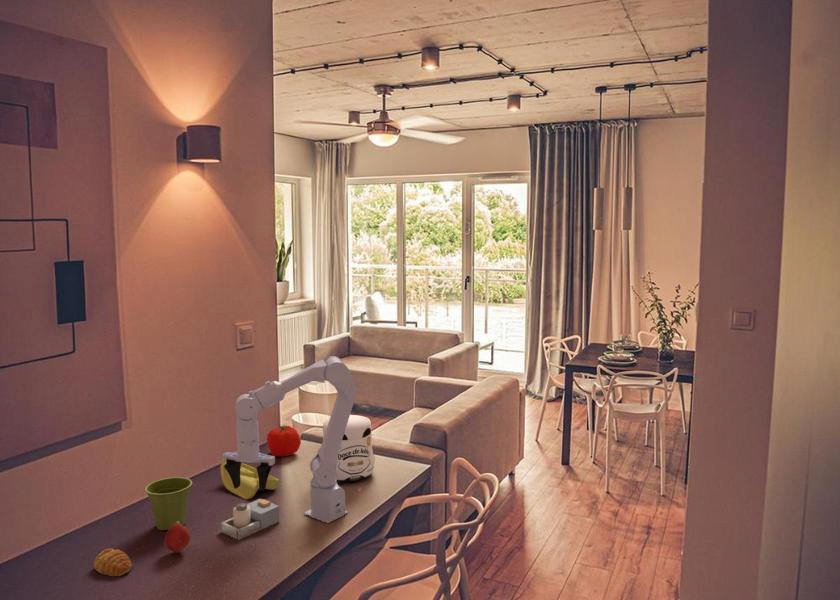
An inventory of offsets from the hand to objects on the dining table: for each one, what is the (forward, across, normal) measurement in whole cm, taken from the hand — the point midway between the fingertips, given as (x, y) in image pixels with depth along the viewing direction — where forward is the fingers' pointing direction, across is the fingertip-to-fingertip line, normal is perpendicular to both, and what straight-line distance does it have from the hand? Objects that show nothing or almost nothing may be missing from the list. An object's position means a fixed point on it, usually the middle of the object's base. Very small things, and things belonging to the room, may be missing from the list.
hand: (249, 488), depth 171 cm
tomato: (+10, +15, -50) cm, 54 cm away
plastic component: (+10, +13, -22) cm, 28 cm away
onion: (+10, +10, +19) cm, 23 cm away
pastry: (+10, +20, +28) cm, 36 cm away
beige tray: (+10, 0, +5) cm, 11 cm away
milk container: (+10, -14, -38) cm, 41 cm away
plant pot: (+10, +21, +6) cm, 24 cm away
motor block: (+10, -2, -1) cm, 10 cm away
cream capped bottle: (+10, 0, +4) cm, 11 cm away
